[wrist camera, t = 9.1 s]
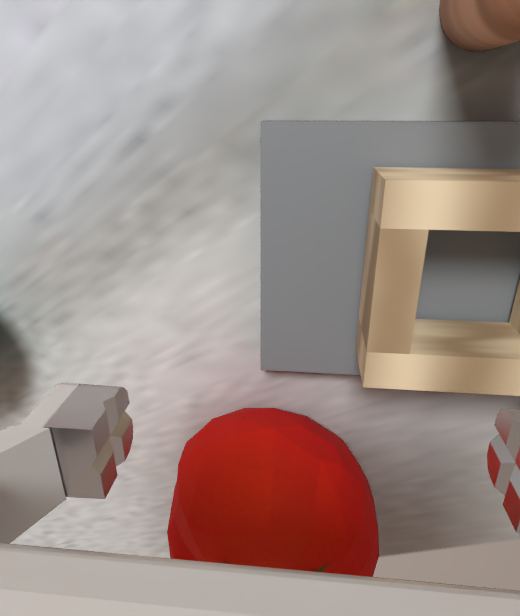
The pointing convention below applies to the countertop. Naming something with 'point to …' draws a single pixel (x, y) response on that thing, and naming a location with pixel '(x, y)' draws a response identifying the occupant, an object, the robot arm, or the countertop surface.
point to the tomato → (273, 497)
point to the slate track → (353, 230)
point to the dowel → (481, 23)
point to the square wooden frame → (407, 278)
